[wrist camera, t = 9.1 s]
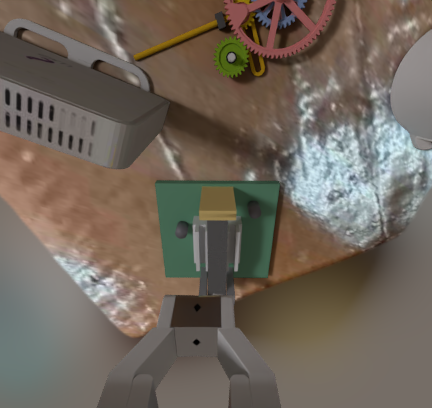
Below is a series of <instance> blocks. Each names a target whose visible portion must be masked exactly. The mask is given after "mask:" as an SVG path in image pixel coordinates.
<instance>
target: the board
mask: <svg viewBox="0 0 432 408" xmlns="http://www.w3.org/2000/svg"><path fill="white" fill-rule="evenodd" d="M155 187H156V196H157V204H158V213H159V222H160V231H161V239H162V248H163V257H164V266H165V275H166V277H200V289H199V295H207V278H208V248H207V220H228V239H227V267H226V288H227V295H232V296H233V306H234V302H235V291H234V279H233V278H268V271H269V263H270V256H271V248H272V240H273V233H274V225H275V217H276V210H277V202H278V195H279V187H280V183H279V181H156V183H155Z"/></svg>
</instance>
